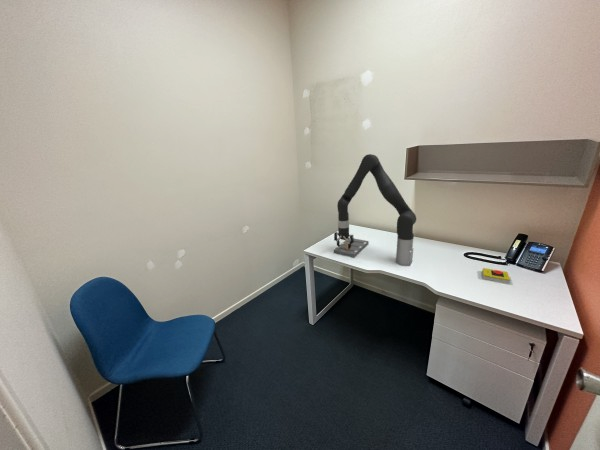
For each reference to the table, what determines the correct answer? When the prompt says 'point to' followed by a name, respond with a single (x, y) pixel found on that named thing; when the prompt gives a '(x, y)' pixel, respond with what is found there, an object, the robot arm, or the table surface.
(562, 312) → the table surface
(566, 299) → the table surface
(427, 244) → the table surface
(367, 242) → the panel
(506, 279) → the emergency button
